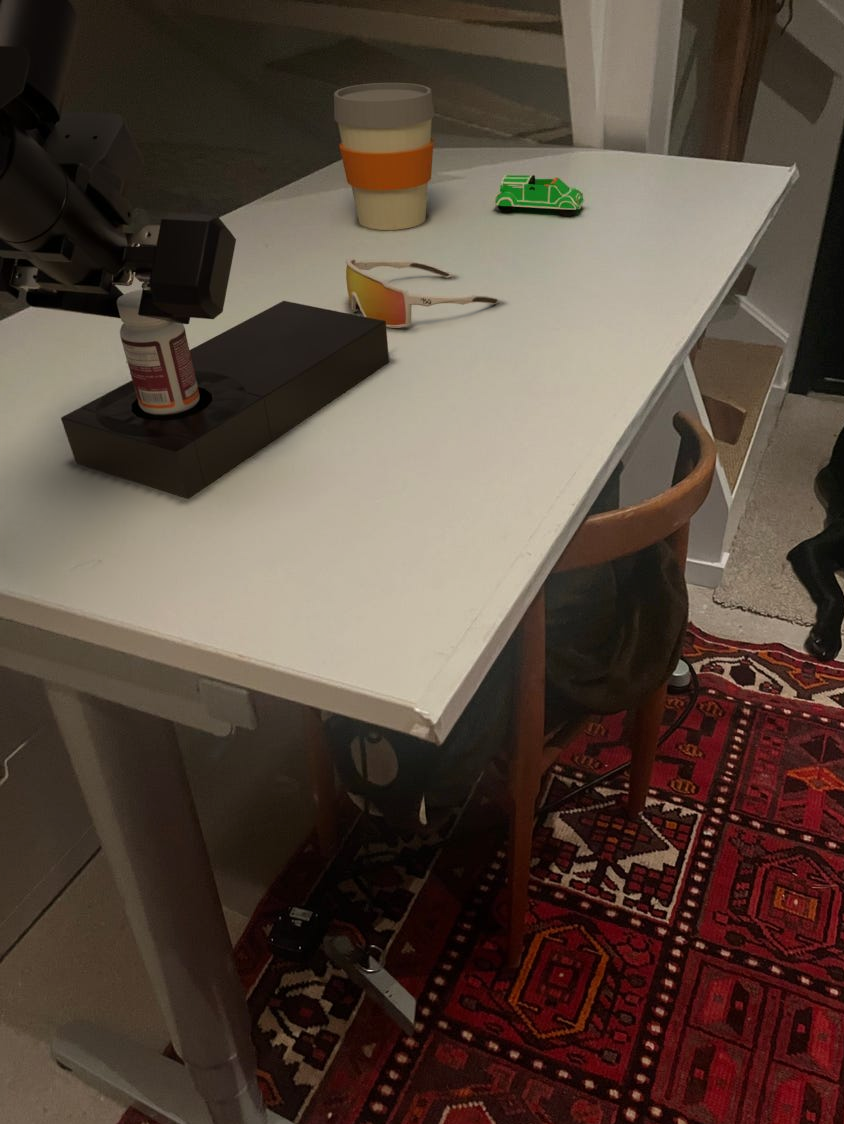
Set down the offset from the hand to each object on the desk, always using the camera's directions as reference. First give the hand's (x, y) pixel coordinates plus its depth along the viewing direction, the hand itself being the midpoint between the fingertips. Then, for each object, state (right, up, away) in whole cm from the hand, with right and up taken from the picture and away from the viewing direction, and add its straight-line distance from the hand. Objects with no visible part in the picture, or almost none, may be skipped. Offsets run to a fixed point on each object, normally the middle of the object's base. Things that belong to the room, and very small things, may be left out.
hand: (159, 315), depth 70 cm
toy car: (+32, +34, +56) cm, 73 cm away
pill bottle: (0, -6, +3) cm, 7 cm away
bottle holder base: (+4, -4, +11) cm, 13 cm away
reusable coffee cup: (+13, +32, +54) cm, 64 cm away
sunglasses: (+18, +12, +30) cm, 37 cm away
